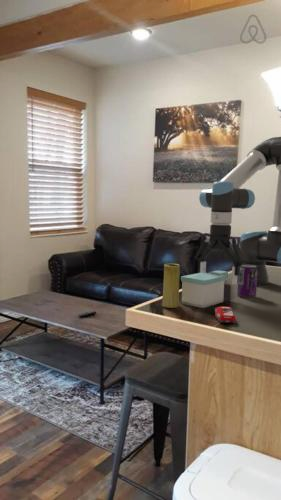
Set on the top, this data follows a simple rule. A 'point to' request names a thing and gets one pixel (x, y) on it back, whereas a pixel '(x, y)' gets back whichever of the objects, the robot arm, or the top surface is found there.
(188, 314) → the top surface
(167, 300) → the vase
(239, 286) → the beverage can
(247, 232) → the robot arm
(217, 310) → the race car
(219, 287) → the tub
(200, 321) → the top surface
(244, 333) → the top surface
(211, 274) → the block
